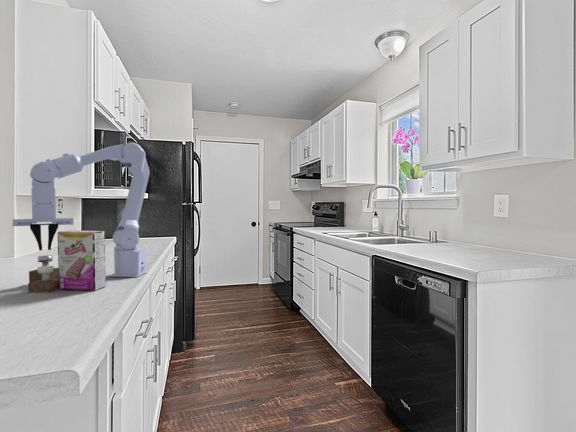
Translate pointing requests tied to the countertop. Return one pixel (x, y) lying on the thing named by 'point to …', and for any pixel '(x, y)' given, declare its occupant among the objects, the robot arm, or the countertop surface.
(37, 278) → the tall socket
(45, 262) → the steel knob
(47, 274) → the cream knob
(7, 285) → the countertop surface
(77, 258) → the candy bar box
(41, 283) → the low socket
